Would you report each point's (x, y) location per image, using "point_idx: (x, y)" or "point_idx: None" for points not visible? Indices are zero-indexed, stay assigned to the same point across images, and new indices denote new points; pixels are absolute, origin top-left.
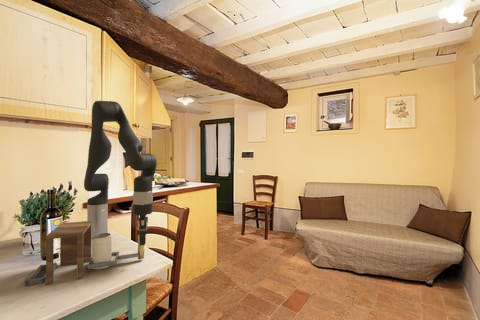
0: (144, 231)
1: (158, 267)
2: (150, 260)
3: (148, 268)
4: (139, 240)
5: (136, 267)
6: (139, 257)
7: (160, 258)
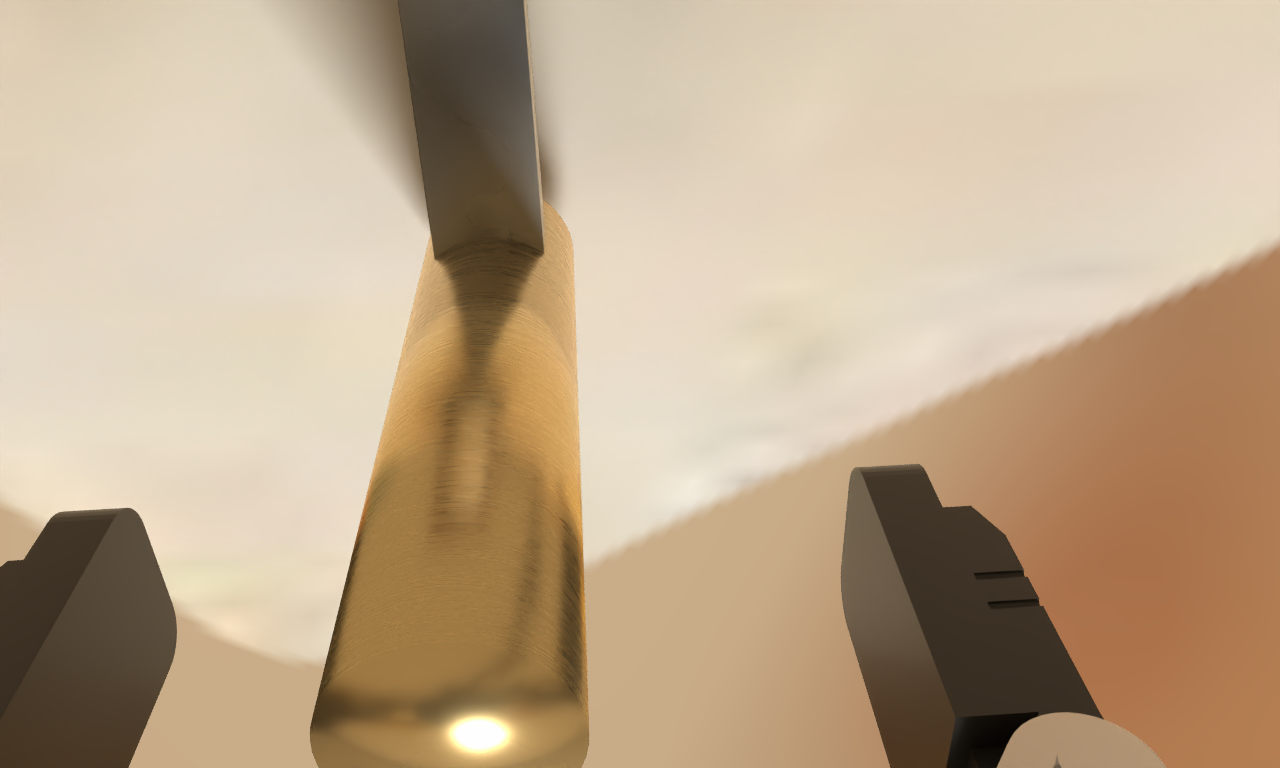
0: (894, 759)
1: None
2: None
3: (76, 384)
4: (361, 524)
5: (154, 159)
6: (431, 245)
7: None
